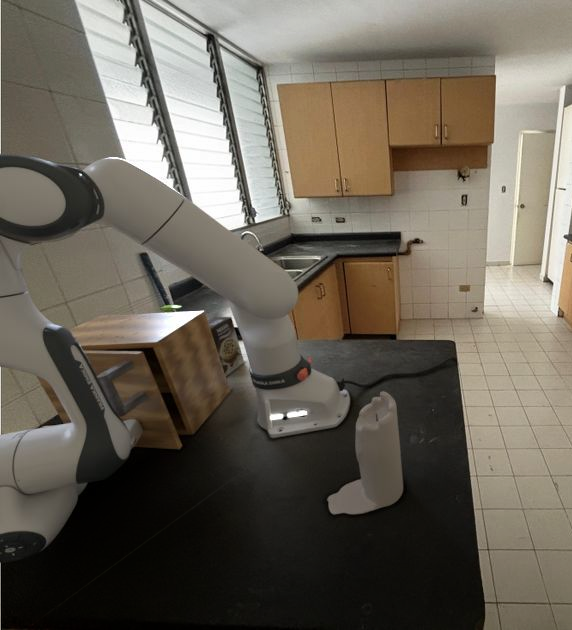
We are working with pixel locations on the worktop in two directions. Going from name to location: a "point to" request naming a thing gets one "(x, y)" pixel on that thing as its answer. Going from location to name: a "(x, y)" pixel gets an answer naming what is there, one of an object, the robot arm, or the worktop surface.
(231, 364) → the coffee box
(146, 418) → the cupboard door
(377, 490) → the white l-shaped piece
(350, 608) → the worktop surface
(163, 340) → the cupboard
